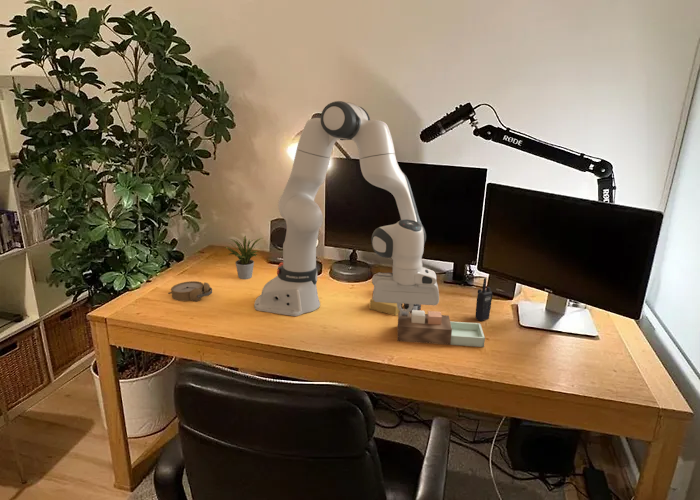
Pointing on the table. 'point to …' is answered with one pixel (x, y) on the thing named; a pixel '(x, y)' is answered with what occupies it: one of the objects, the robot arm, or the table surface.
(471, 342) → the tray
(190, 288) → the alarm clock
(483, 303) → the two-way radio
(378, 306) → the rubber stamp
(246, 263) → the house plant
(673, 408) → the table surface
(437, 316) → the terracotta tile
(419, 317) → the cream tile
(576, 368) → the table surface
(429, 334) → the dark wooden box
